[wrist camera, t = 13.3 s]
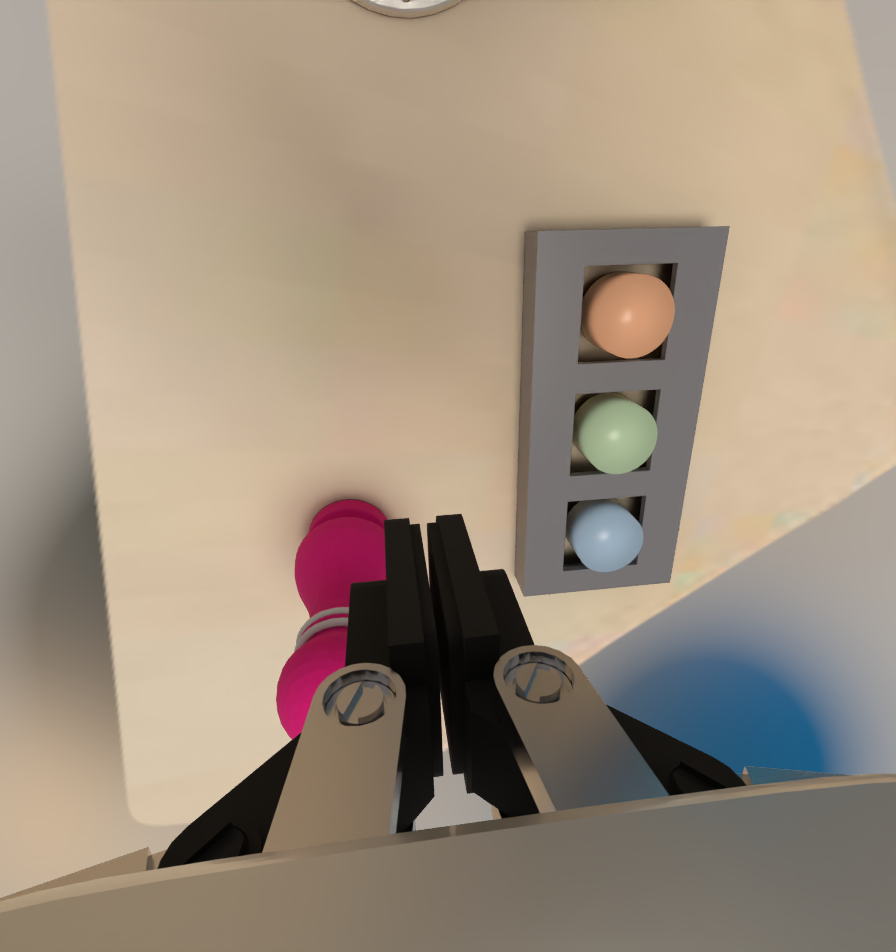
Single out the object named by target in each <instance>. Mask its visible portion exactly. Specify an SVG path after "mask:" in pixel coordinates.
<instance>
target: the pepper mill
mask: <svg viewBox="0 0 896 952" xmlns="http://www.w3.org/2000/svg"><path fill="white" fill-rule="evenodd" d="M384 520H387V518H386V517H385V516H384V514H383V513H382V512H381V511H380V510H379V509H377V508H376V507H374V506H373V505H371V504H368V503H366V502H363V501H358V500H343V501H338V502H335V503H332V504H330V505H328V506H326V507H325V508H323V509H322V510H321V511H320V512H319V513H318V514H317V515H316V516H315V518H314V519H313V521H312V524H311V526H310V530H309V533H308V535H307V536H306V537H305V538H304V539H303V541H302V543H301V545H300V546H299V549H298V551H297V554H296V560H295V580H296V585H297V589H298V592H299V595H300V597H301V599H302V601H303V603H304V605H305V606H306V608H307V610H308V612H309V616H310V619H309V620H308V621H307V622H306V623H305V624H304V625H303V627H302V628H301V629H300V631H299V634H298V637H297V641H296V647H295V651H294V653H293V654H292V656H291V657H290V658H289V659H288V661H287V662H286V664H285V666H284V667H283V669H282V672H281V675H280V678H279V681H278V685H277V697H276V702H277V712H278V715H279V718H280V721H281V724H282V726H283V727H284V729H285V731H286V732H287V734H288V735H289V737H290V738H291V739H292V740H293V739H294V738H295V737H296V736H298V735H299V734H300V733H301V732H302V729H303V726H304V723H305V720H306V717H307V714H308V711H309V708H310V705H311V702H312V699H313V696H314V694H315V692H316V690H317V688H318V686H319V685H320V684H321V683H322V682H323V681H324V680H325V679H326V678H327V677H328V676H329V675H331V674H332V673H334V672H336V671H337V670H339V669H341V668H344V667H345V658H346V643H347V629H348V615H349V600H350V587H351V583H355V582H366V581H377V580H386V562H385V532H384Z"/></svg>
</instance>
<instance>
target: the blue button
mask: <svg viewBox="0 0 896 952" xmlns="http://www.w3.org/2000/svg"><path fill="white" fill-rule="evenodd" d="M565 535H566V538H567V540H568V541H569V543H570V544H571V546H572V547H573V549H574V551H575V552H576V554H577V555H578V557H579V558H580V560H581V561H582V563H583V564H584V565H585V566H586V567H588V568H589V569H591V570H594V571H597V572H611V571H615V570H618V569H621V568H623V567H624V566H626V565H628V564H629V563H630V562H631V561H632V560H633V559H634V558H635V557H636V556H637V554H638V553H639V551H640V549H641V547H642V544H643V537H644V536H643V530H642V527H641V525H640V524H639V522H638V521H637V520H636V519H635V518H634V517H633V516H632V515H631V514H630V513H629V511H628V510H627V509H626V508H625V507H624V506H623V505H622V504H621V503H620V502H619V501H618V500H617V499H615V498H608V499H596V500H583V501H580V502H579V503H577V504H576V505H575V506H574V507H573V508H572V509H571V511H570V512H569V514H568V516H567V519H566V533H565Z"/></svg>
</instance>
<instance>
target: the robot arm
mask: <svg viewBox="0 0 896 952" xmlns="http://www.w3.org/2000/svg"><path fill="white" fill-rule="evenodd" d="M352 1H354V2H356V3H358V4H359V5H361V6H363V7H365V8H366V9H369V10H372V11H375V12H378V13H381V14H384V15H388V16H394V17H407V18H414V17H420V16H426V15H432V14H436V13H438V12H440V11H443V10H445V9H447V8H450V7H452V6H454V5H456V4H457V3H458V2H460V1H461V0H410V1H409V2H408V3H405V2H403V1H402V0H352ZM384 532H385V562H386V580H377V581H366V582H355V583H351V587H350V600H349V615H348V629H347V643H346V658H345V667H344V668H341V669H339V670H337V671H336V672H334V673H332V674H331V675H329V676H328V677H327V678H326V679H325V680H324V681H323V682H322V683H321V684H320V685H319V686H318V688H317V690H316V692H315V694H314V696H313V699H312V702H311V705H310V708H309V711H308V714H307V717H306V720H305V723H304V726H303V729H302V732H301V733H300V734H299V735H298V736H296V737H295V738H294V739H293V740H291V741H290V742H289V743H288V744H287V745H285V746H284V747H283V748H282V749H281V750H279V751H278V752H277V753H276V754H275V755H273V756H272V757H271V758H270V759H269V760H267V761H266V762H265V763H264V764H262V765H261V766H260V767H259V768H258V769H256V770H255V771H254V772H253V773H252V774H250V775H249V776H248V777H247V778H246V779H244V780H243V781H242V782H241V783H240V784H238V785H237V786H236V787H235V788H234V789H232V790H231V791H230V792H229V793H227V794H226V795H225V796H224V797H223V798H221V799H220V800H219V801H218V802H217V803H215V804H214V805H213V806H212V807H211V808H209V809H208V810H207V811H206V812H205V813H203V814H202V815H201V816H200V817H198V818H197V819H196V820H195V821H194V822H192V823H191V824H190V825H189V826H188V827H187V828H186V829H185V830H184V831H183V832H182V833H181V834H180V835H179V836H178V837H177V838H176V839H175V840H174V841H173V842H172V843H171V844H170V846H169V848H168V849H167V850H164V851H161V852H159V853H156V854H153V855H151V852H150V850H149V847H147V848H144V849H141V850H138V851H136V852H133V853H130V854H127V855H124V856H121V857H118V858H115V859H112V860H110V861H107V862H104V863H101V864H98V865H95V866H92V867H89V868H86V869H84V870H81V871H78V872H75V873H72V874H69V875H66V876H63V877H60V878H57V879H55V880H52V881H49V882H46V883H43V884H40V885H37V886H34V887H32V888H29V889H26V890H23V891H20V892H17V893H14V894H12V895H9V896H5V897H3V898H0V952H896V774H863V775H843V774H831V773H818V772H808V771H796V770H783V769H772V768H761V767H748V766H745V768H744V771H743V774H738V773H735V772H734V771H733V770H732V769H730V768H729V767H728V766H726V765H725V764H723V763H721V762H720V761H718V760H717V759H715V758H714V757H712V756H710V755H708V754H706V753H703V752H702V751H699V750H697V749H695V748H693V747H691V746H689V745H687V744H685V743H683V742H681V741H679V740H677V739H675V738H673V737H671V736H669V735H667V734H665V733H663V732H661V731H659V730H657V729H655V728H653V727H650V726H649V725H647V724H645V723H642V722H640V721H638V720H636V719H634V718H632V717H630V716H628V715H626V714H624V713H622V712H620V711H618V710H616V709H614V708H612V707H610V706H608V705H606V704H605V703H604V701H603V700H602V698H601V697H600V696H599V694H598V693H597V691H596V690H595V688H594V687H593V686H592V684H591V683H590V681H589V680H588V678H587V677H586V675H585V674H584V673H583V671H582V670H581V668H580V667H579V666H578V665H577V664H576V663H575V662H574V660H573V659H572V658H571V657H569V656H567V655H566V654H564V653H562V652H561V651H559V650H556V649H553V648H550V647H546V646H537V645H534V642H533V640H532V637H531V635H530V632H529V630H528V627H527V625H526V622H525V620H524V617H523V615H522V612H521V610H520V607H519V605H518V602H517V599H516V597H515V594H514V592H513V589H512V587H511V584H510V582H509V579H508V577H507V574H506V572H505V570H503V569H498V570H487V571H479V567H478V564H477V561H476V558H475V555H474V552H473V549H472V545H471V542H470V539H469V536H468V533H467V530H466V526H465V523H464V520H463V517H462V515H461V514H454V515H442V516H436V523H427V538H428V560H429V581H428V575H427V568H426V562H425V556H424V549H423V543H422V537H421V530H420V524H411V525H410V521H409V518H404V519H392V520H384ZM429 582H430V587H429ZM440 692H441V699H442V706H443V713H444V720H445V727H446V734H447V741H448V747H449V754H450V761H451V768H452V773H453V774H462V773H464V779H465V784H466V791H467V793H475V794H477V795H478V796H480V797H481V798H483V799H484V800H486V801H487V802H489V803H490V804H491V805H492V814H493V819H494V820H489V821H482V822H475V823H467V824H460V825H453V826H446V827H439V828H432V829H425V830H417V831H416V826H415V819H416V818H417V816H418V815H419V814H420V813H421V812H422V810H423V809H424V808H425V807H426V806H427V804H428V803H429V802H430V801H431V800H432V798H433V797H434V779H433V777H438V776H443V752H442V727H441V702H440Z"/></svg>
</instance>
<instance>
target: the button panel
mask: <svg viewBox="0 0 896 952" xmlns="http://www.w3.org/2000/svg"><path fill="white" fill-rule="evenodd" d="M729 227H730V226H719V227H679V228H640V229H600V230H561V231H531V232H525V253H524V286H523V320H522V353H521V386H520V419H519V452H518V486H517V519H516V552H515V577H516V579H517V581H518V584H519V586H520V588H521V591H522V593H523V596H534V595H545V594H555V593H565V592H576V591H586V590H596V589H607V588H617V587H628V586H638V585H648V584H659V583H669V582H670V579H671V573H672V567H673V561H674V555H675V549H676V543H677V537H678V531H679V525H680V519H681V513H682V507H683V501H684V495H685V489H686V483H687V477H688V471H689V465H690V459H691V453H692V447H693V441H694V435H695V430H696V424H697V418H698V412H699V406H700V400H701V394H702V388H703V382H704V376H705V370H706V364H707V358H708V352H709V346H710V340H711V334H712V328H713V322H714V316H715V310H716V304H717V298H718V292H719V286H720V280H721V274H722V268H723V263H724V257H725V251H726V245H727V239H728V233H729ZM659 263H673V269H672V277H671V284H670V292H671V294H672V296H673V299H674V305H675V315H674V321H673V324H672V327H671V329H670V332H669V333H668V335H667V337H666V338H665V339H664V341H663V344H662V352H661V358H652V359H633V360H613V361H594V362H578V352H579V338H580V324H581V311H582V297H583V283H584V269H585V266H598V265H629V264H659ZM641 390H656V397H655V404H654V412H653V418H654V420H655V422H656V425H657V432H658V434H657V441H656V445H655V448H654V450H653V452H652V453H651V455H650V456H649V458H648V459H647V464H646V467H645V468H636V469H634V470H632V471H630V472H627V473H623V474H608V473H605V472H602V471H590V472H577V473H570V463H571V449H572V436H573V422H574V408H575V394H589V393H606V392H624V391H641ZM634 496H642V502H641V510H640V517H639V524H640V525H641V527H642V530H643V536H644V537H643V544H642V547H641V549H640V551H639V553H638V554H637V556H636V557H635V558H634V559H633V560H632V561H631V562H630V563H629V564H628V565H626V566H624V567H623V568H621V569H618V570H615V571H611V572H597V571H594V570H591V569H589V568H588V567H586V566H585V565H584V564H583V563H573V564H563V560H564V547H565V533H566V519H567V505H568V502H570V501H583V500H596V499H608V498H621V497H634Z"/></svg>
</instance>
